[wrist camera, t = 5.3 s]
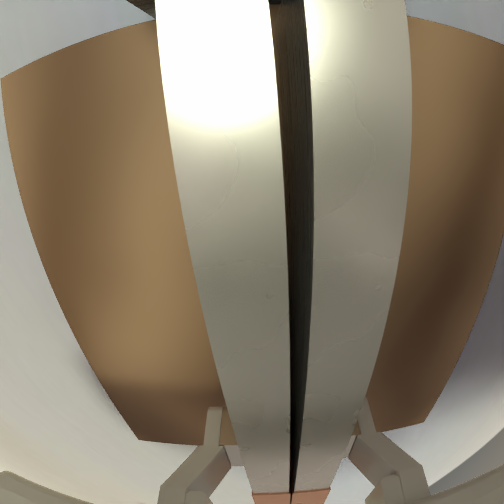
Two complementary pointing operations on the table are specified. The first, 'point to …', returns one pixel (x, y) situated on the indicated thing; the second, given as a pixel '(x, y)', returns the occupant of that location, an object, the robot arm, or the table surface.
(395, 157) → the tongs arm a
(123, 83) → the walnut board
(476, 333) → the table surface
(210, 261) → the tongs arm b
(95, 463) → the table surface
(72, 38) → the table surface
